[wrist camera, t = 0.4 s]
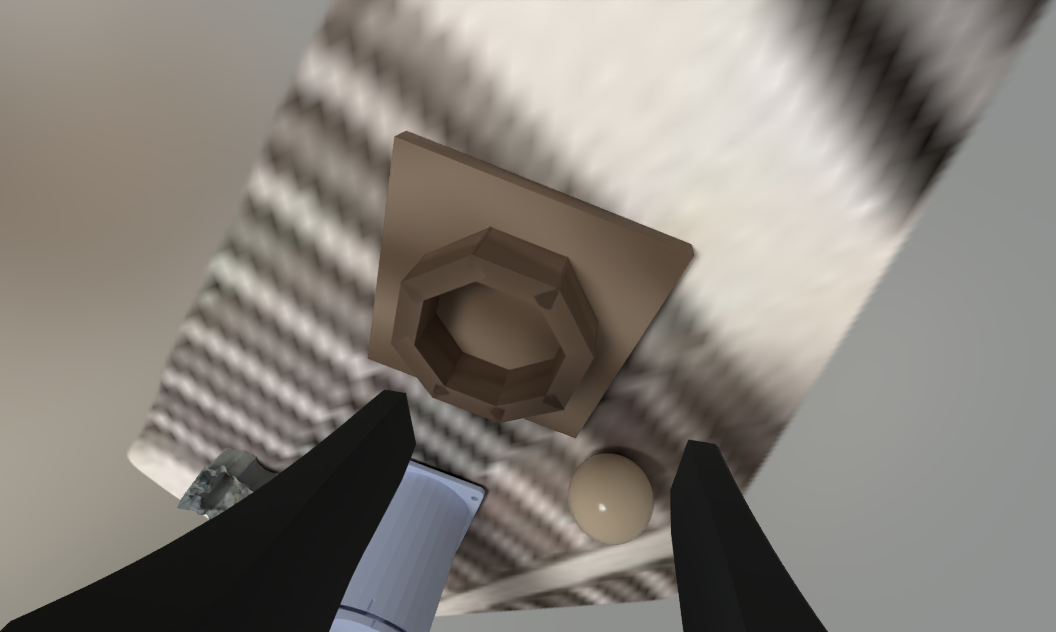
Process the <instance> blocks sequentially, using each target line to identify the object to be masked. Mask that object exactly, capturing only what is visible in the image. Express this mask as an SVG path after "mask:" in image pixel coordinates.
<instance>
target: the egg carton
mask: <svg viewBox="0 0 1056 632" xmlns="http://www.w3.org/2000/svg"><path fill="white" fill-rule="evenodd" d="M226 473H227V474H228V475H230V476H232V477H233V478H234V481H233V483H234V485H232V484H230V483H229V482H227V481H225V480H224V479H223V476H224V475H225V474H226ZM279 474H280V473H279ZM277 475H278V473H272V472H269V471H267V470H265V469H264V468H263V467H261V466H260V465H259V464H258V462H257V460H256V456H254V455H253V454H251V453H249V452H247V451H245V450H243V451H236V450H232V449H230V448H227V447H226V449H225V450H224V451H223V452H222V453H221V454H220V455H219V456H218V457H217V458H216V459H215V461H214V462H213V463H212V464H211V465H210V466H209V467H208V466H206V467H204V469H203V470H202V471H201V473H200V474H199V475H198V477H197V478H196V480H195V481H194V482H193V483H192V485H191V486H190V488H189V489H188V490H187V492H186V493H185V494H184V496H183V497H182V499H181V501H180V503H179V505H178V507H177V508H179V509H186V510H193V511H197V513H198V515H204V514H207V515H208V517H209V520H210V519H212V518H214V517H215V516H217V515H219V514H220V513H222V512H223V511H225V510H227V509H228V508H230V507H231V506H233V505H234V504H236V503H237V502H239V501H241V500H242V499H244V498H245V497H247V496H248V495H250V494H251V493H253V492H254V491H256V490H257V489H259V488H260V487H261V486H263V485H264V484H266V483H267V482H269V481H270V480H271V479H273V478H274V477H276V476H277Z"/></svg>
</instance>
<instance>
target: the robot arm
mask: <svg viewBox="0 0 1056 632" xmlns="http://www.w3.org/2000/svg"><path fill="white" fill-rule="evenodd" d="M415 445H416V441H415V436H414V431H413V426H412V421H411V416H410V411H409V406H408V401H407V396H406V393H402V392H396V391H390V390H383V391H382V392H381V393H380V394H378V395H377V396H376V397H375V398H374V399H372V400H371V401H370V402H369V403H368V404H366V405H365V406H364V407H363V408H362V409H360V410H359V411H358V412H357V413H356V414H354V415H353V416H352V417H351V418H350V419H348V420H347V421H346V422H345V423H344V424H342V425H341V426H340V427H339V428H338V429H336V430H335V431H334V432H333V433H331V434H330V435H329V436H328V437H326V438H325V439H324V440H323V441H321V442H320V443H319V444H318V445H317V446H315V447H314V448H313V449H312V450H310V451H309V452H308V453H306V454H305V455H304V456H302V457H301V458H300V459H298V460H297V461H296V462H294V463H293V464H292V465H290V466H289V467H288V468H286V469H285V470H284V471H282V472H281V473H280V474H278V475H277V476H276V477H274V478H273V479H271V480H270V481H269V482H267V483H266V484H264V485H263V486H261V487H260V488H259V489H257V490H256V491H254V492H253V493H251V494H250V495H248V496H247V497H245V498H244V499H242V500H241V501H239V502H237V503H236V504H234V505H233V506H231V507H230V508H228V509H227V510H225V511H223V512H222V513H220V514H219V515H217V516H215V517H214V518H212V519H210V520H209V521H207V522H205V523H204V524H202V525H200V526H198V527H197V528H195V529H193V530H191V531H190V532H188V533H186V534H185V535H183V536H181V537H179V538H178V539H176V540H174V541H173V542H171V543H169V544H167V545H166V546H164V547H162V548H160V549H158V550H156V551H154V552H153V553H151V554H149V555H147V556H145V557H143V558H141V559H139V560H138V561H136V562H134V563H132V564H130V565H128V566H126V567H124V568H122V569H120V570H118V571H116V572H114V573H112V574H110V575H108V576H106V577H105V578H102V579H100V580H98V581H96V582H94V583H92V584H90V585H88V586H86V587H84V588H82V589H80V590H78V591H75V592H73V593H71V594H69V595H67V596H64V597H62V598H60V599H58V600H56V601H54V602H52V603H49V604H47V605H45V606H43V607H41V608H38V609H36V610H34V611H32V612H30V613H28V614H25V615H23V616H21V617H19V618H16V619H14V620H12V621H10V622H9V623H8V624H7V625H6V626H5V627H4V628H3V629H2V630H1V631H0V632H429V631H430V628H431V625H432V622H433V619H434V616H435V613H436V610H437V607H438V604H439V601H440V598H441V595H442V592H443V589H444V586H445V583H446V580H447V577H448V574H449V571H450V568H451V565H452V562H453V559H454V556H455V553H456V550H458V548H459V546H460V544H461V542H462V540H463V538H464V536H465V534H466V532H467V530H468V528H469V526H470V524H471V522H472V520H473V518H474V516H475V514H476V512H477V510H478V508H479V505H480V503H481V501H482V499H483V497H484V494H485V491H484V489H483V488H481V487H479V486H477V485H474V484H471V483H469V482H466V481H463V480H461V479H458V478H455V477H453V476H450V475H448V474H445V473H442V472H440V471H437V470H434V469H432V468H429V467H426V466H424V465H421V464H419V463H416V462H413V461H411V460H410V459H411V456H412V453H413V451H414V448H415ZM670 498H671V537H672V545H673V553H674V561H675V570H676V577H677V585H678V593H679V601H680V608H681V616H682V624H683V631H684V632H828V631H827V630H826V629H825V627H824V626H823V624H822V623H821V621H820V620H819V618H818V617H817V616H816V614H815V613H814V611H813V610H812V608H811V607H810V606H809V604H808V602H807V601H806V600H805V598H804V597H803V595H802V593H801V592H800V591H799V589H798V587H797V586H796V584H795V583H794V581H793V580H792V578H791V577H790V575H789V573H788V572H787V571H786V569H785V567H784V566H783V564H782V562H781V561H780V559H779V558H778V556H777V554H776V553H775V551H774V550H773V548H772V546H771V545H770V543H769V541H768V539H767V538H766V536H765V534H764V533H763V531H762V529H761V527H760V526H759V524H758V522H757V521H756V519H755V517H754V515H753V514H752V512H751V510H750V509H749V506H748V505H747V503H746V501H745V499H744V497H743V495H742V493H741V492H740V490H739V488H738V486H737V484H736V482H735V480H734V478H733V476H732V474H731V472H730V470H729V468H728V466H727V464H726V462H725V460H724V458H723V456H722V454H721V452H720V450H719V448H718V447H717V446H716V444H712V443H706V442H700V441H694V440H688V442H687V445H686V448H685V451H684V453H683V456H682V459H681V462H680V465H679V467H678V470H677V473H676V476H675V479H674V482H673V484H672V487H671V490H670Z"/></svg>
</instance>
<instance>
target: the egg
mask: <svg viewBox="0 0 1056 632" xmlns="http://www.w3.org/2000/svg"><path fill="white" fill-rule="evenodd" d="M568 502H569V507H570V511H571V513H572V516H573V518H574V520H575V522H576V523H577V525H578V526H579V527H580V529H581V530H582V531H583V532H584V533H585V534H587V535H588V536H589V537H591V538H592V539H594V540H596V541H598V542H601V543H604V544H610V545H618V544H624V543H627V542H630V541H632V540H633V539H635V538H637V537H638V536H639V535H640V534H641V533H642V532H643V531H644V530H645V529H646V527H647V525H648V524H649V522H650V520H651V517H652V513H653V508H654V497H653V491H652V487H651V485H650V482H649V480H648V478H647V476H646V475H645V473H644V472H643V471H642V470H641V468H640V467H639V466H638V465H637V464H635V463H634V462H633V461H631V460H630V459H628V458H626V457H624V456H621V455H618V454H613V453H604V454H598V455H595V456H592V457H590V458H588V459H587V460H585V461H584V462H583V463H582V464H580V466H579V467H578V468H577V469H576V471H575V472H574V474H573V476H572V478H571V481H570V484H569V490H568Z"/></svg>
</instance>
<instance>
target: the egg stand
mask: <svg viewBox="0 0 1056 632" xmlns="http://www.w3.org/2000/svg"><path fill="white" fill-rule="evenodd" d="M693 256H694V254H693V250H692V246H691V244H689V243H687V242H684V241H682V240H679V239H677V238H674V237H672V236H669V235H667V234H664V233H662V232H659V231H657V230H654V229H651V228H649V227H646V226H644V225H641V224H639V223H636V222H634V221H631V220H629V219H626V218H624V217H621V216H619V215H616V214H614V213H611V212H609V211H606V210H604V209H601V208H599V207H596V206H594V205H591V204H589V203H586V202H584V201H581V200H579V199H576V198H574V197H571V196H569V195H566V194H564V193H561V192H559V191H556V190H554V189H551V188H549V187H546V186H544V185H541V184H539V183H536V182H534V181H531V180H529V179H526V178H523V177H521V176H518V175H516V174H513V173H511V172H508V171H506V170H503V169H501V168H498V167H496V166H493V165H491V164H488V163H486V162H483V161H481V160H478V159H476V158H473V157H471V156H468V155H466V154H463V153H461V152H458V151H456V150H453V149H451V148H448V147H446V146H443V145H441V144H438V143H436V142H433V141H431V140H428V139H426V138H423V137H421V136H418V135H416V134H413V133H411V132H408V131H405V132H403V133H401V134H399V135H397V136H395V137H394V146H393V154H392V162H391V170H390V179H389V187H388V195H387V203H386V212H385V220H384V228H383V236H382V245H381V253H380V261H379V270H378V278H377V286H376V294H375V303H374V311H373V319H372V327H371V336H370V344H369V352H368V359H370V360H373V361H375V362H378V363H381V364H383V365H386V366H389V367H391V368H394V369H396V370H399V371H402V372H404V373H407V374H409V375H412V376H415V377H417V378H418V379H419V381H420V382H421V383H422V385H423V386H424V387H425V388H426V390H427V391H428V392H429V394H430V395H431V396H432V397H433V398H435V399H438V400H441V401H443V402H446V403H448V404H451V405H454V406H456V407H459V408H461V409H464V410H467V411H469V412H472V413H475V414H477V415H480V416H482V417H485V418H488V419H490V420H493V421H495V422H498V423H501V422H506V421H511V420H516V419H521V418H524V419H527V420H529V421H532V422H534V423H537V424H540V425H542V426H545V427H547V428H550V429H553V430H555V431H558V432H561V433H563V434H566V435H568V436H571V437H574V438H576V437H577V435H578V434H579V432H580V431H581V429H582V427H583V426H584V424H585V423H586V421H587V420H588V418H589V417H590V415H591V414H592V412H593V410H594V409H595V407H596V406H597V404H598V403H599V401H600V400H601V398H602V397H603V395H604V393H605V392H606V390H607V389H608V387H609V386H610V384H611V383H612V381H613V380H614V378H615V377H616V375H617V373H618V372H619V370H620V369H621V367H622V366H623V364H624V363H625V361H626V360H627V358H628V356H629V355H630V353H631V352H632V350H633V349H634V347H635V346H636V344H637V343H638V341H639V339H640V338H641V336H642V335H643V333H644V332H645V330H646V329H647V327H648V326H649V324H650V323H651V321H652V319H653V318H654V316H655V315H656V313H657V312H658V310H659V309H660V307H661V306H662V304H663V302H664V301H665V299H666V298H667V296H668V295H669V293H670V292H671V290H672V289H673V287H674V285H675V284H676V282H677V281H678V279H679V278H680V276H681V275H682V273H683V272H684V270H685V269H686V267H687V265H688V264H689V262H690V261H691V259H692V258H693Z"/></svg>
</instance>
